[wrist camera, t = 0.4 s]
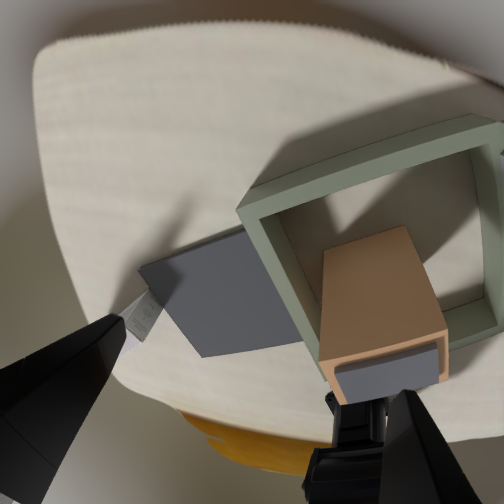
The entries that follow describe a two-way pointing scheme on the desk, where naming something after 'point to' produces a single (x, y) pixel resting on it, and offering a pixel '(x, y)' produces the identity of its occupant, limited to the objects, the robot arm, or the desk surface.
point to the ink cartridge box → (140, 319)
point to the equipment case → (371, 167)
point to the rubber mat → (222, 297)
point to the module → (380, 320)
